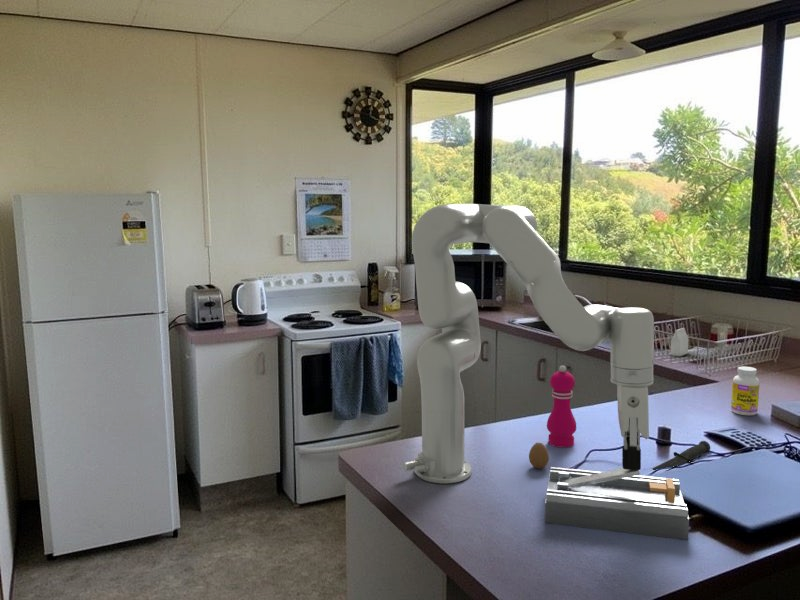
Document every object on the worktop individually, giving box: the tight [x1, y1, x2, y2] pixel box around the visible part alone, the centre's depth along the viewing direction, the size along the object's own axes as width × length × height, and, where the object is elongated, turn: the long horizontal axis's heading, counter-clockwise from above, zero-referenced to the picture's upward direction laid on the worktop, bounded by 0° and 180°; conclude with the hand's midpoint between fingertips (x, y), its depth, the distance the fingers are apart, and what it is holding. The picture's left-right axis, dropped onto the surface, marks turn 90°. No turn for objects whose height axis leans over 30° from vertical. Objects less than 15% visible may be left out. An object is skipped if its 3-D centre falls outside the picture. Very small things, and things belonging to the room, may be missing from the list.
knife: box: [651, 440, 711, 470], centre depth 148 cm, size 24×5×3 cm, turn 120°
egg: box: [528, 442, 550, 470], centre depth 146 cm, size 4×4×6 cm
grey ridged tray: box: [544, 466, 690, 541], centre depth 124 cm, size 25×14×6 cm, turn 74°
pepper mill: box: [546, 365, 577, 448], centre depth 159 cm, size 7×7×20 cm
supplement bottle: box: [730, 365, 761, 417], centre depth 180 cm, size 7×7×13 cm
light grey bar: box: [561, 467, 640, 489], centre depth 124 cm, size 15×3×1 cm, turn 73°
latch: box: [649, 477, 675, 503], centre depth 121 cm, size 4×4×3 cm
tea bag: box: [669, 327, 689, 357], centre depth 250 cm, size 4×7×10 cm, turn 131°
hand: (631, 467), depth 122 cm, fingers closed
